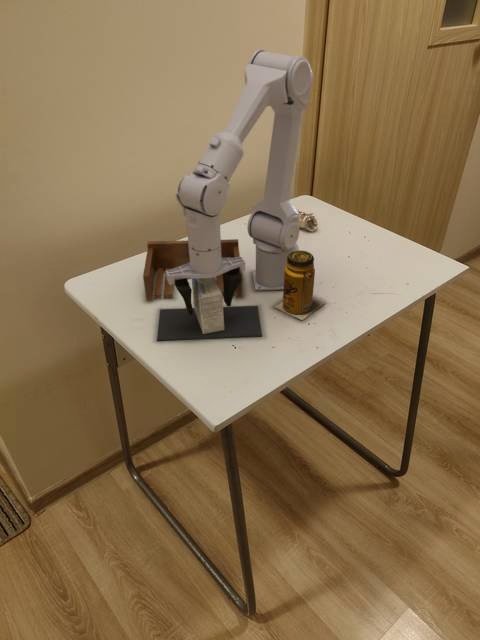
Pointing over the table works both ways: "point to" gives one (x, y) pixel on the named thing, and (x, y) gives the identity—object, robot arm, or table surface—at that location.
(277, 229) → the robot arm
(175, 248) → the shelf rack
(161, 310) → the rubber mat
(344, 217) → the table surface
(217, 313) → the medicine box
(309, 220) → the ornament
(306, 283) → the condiment
